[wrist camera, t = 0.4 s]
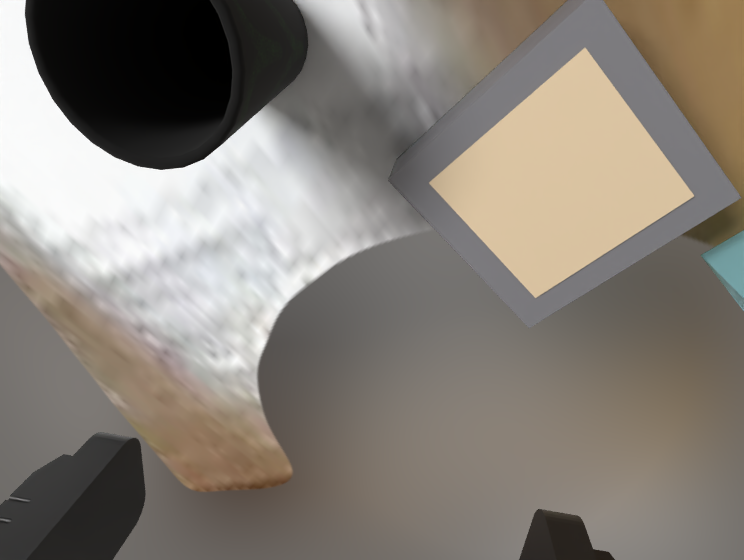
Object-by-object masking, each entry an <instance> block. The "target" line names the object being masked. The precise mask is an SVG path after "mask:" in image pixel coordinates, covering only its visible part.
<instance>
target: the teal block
mask: <svg viewBox="0 0 744 560" xmlns="http://www.w3.org/2000/svg"><path fill="white" fill-rule="evenodd" d="M701 256H702V258H703V259H704V260H705V262H706V263H707V264H708V265H709V267H710V268H711V269H712V271H713V272H714V273H715V275H716V276H717V277H718V278H719V280H720V281H721V282H722V284H723V285H724V286H725V288H726V289H727V290H728V292H729V293H730V294H731V296H732V297H733V298H734V299H735V301H736V302H737V303H738V304H739V306H740V307H741V309H742V310H743V311H744V230H743V231H741V232H740V233H738V234H736V235H735V236H733V237H731V238H729V239H728V240H726V241H724V242H723V243H721V244H719V245H717V246H716V247H714V248H712V249H710V250H709V251H707V252H705V253H703V254H702V255H701Z"/></svg>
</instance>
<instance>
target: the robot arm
mask: <svg viewBox="0 0 744 560" xmlns="http://www.w3.org/2000/svg"><path fill="white" fill-rule="evenodd" d="M144 502H145V484H144V474H143V464H142V454H141V446H140V442H139V440H138V439H136V438H132V437H126V436H120V435H115V434H109V433H103V432H99V433H96V434H95V435H93V436H92V437H91V438H90V439H89V440H88V441H87V442H86V443H85V444H84V445H83V446H82V447H81V448H80V449H79V450H78V451H77V452H76V453H75V454H74V455H73V456H70V455H62V456H60V457H58V458H57V459H55V460H53V461H52V462H50V463H48V464H47V465H45V466H43V467H42V468H40V469H38V470H37V471H35V472H33V473H32V474H31V476H29V477H28V478H27V480H25V481H24V482H23V484H21V485H20V486H19V487H18V488H17V489H16V490H15V491H14V492H13V493H12V494H11V495H10V498H9V500H5V501H4V502H3V503H2V504H1V505H0V560H113V558H114V557H115V555H116V554H117V552H118V551H119V549H120V548H121V546H122V545H123V543H124V542H125V540H126V539H127V537H128V536H129V534H130V533H131V531H132V529H133V528H134V527H135V525H136V523H137V522H138V520H139V517H140V515H141V512H142V509H143V506H144ZM519 560H615V559H614V558H613V557H612V556H611V554H610V553H609V552H606V551H600V550H594V549H593V548H592V545H591V542H590V540H589V536H588V534H587V531H586V528H585V525H584V523H583V521H582V519H581V518H580V517H579V516H576V515H571V514H565V513H559V512H552V511H547V510H542V509H538V510H537V511H536V512H535V514H534V517H533V520H532V523H531V526H530V529H529V532H528V535H527V538H526V541H525V544H524V547H523V550H522V553H521V556H520V559H519Z"/></svg>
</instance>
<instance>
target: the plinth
mask: <svg viewBox="0 0 744 560" xmlns="http://www.w3.org/2000/svg"><path fill="white" fill-rule="evenodd" d="M388 181H389V182H390V183H391V184H392V185H393V186H394V187H395V188H396V189H397V190H398V191H399V192H400V193H401V194H402V195H403V197H404V198H405V199H406V200H407V201H408V202H409V203H410V204H411V205H412V206H413V207H414V208H415V209H416V210H417V211H418V212H419V213H420V214H421V215H422V216H423V217H424V219H425V220H426V221H427V222H428V223H429V224H430V225H431V226H432V227H433V228H434V229H435V230H436V231H437V232H438V233H439V234H440V235H441V236H442V237H443V238H444V239H445V240H446V242H447V243H448V244H449V245H450V246H451V247H452V248H453V249H454V250H455V251H456V252H457V253H458V254H459V255H460V256H461V257H462V258H463V259H464V260H465V261H466V263H467V264H469V266H470V267H471V268H472V269H473V270H474V271H475V272H476V273H477V274H478V275H479V276H480V277H481V278H482V279H483V280H484V281H485V282H486V283H487V284H488V286H489V287H490V288H491V289H492V290H493V291H494V292H495V293H496V294H497V295H498V296H499V297H500V298H501V299H502V300H503V301H504V302H505V303H506V304H507V305H508V306H509V308H510V309H511V310H512V311H513V312H514V313H515V314H516V315H517V316H518V317H519V318H520V319H521V320H522V321H523V322H524V323H525V324H526V325H527V326H528V328H530V327H532V326H533V325H535V324H537V323H538V322H540V321H542V320H543V319H545V318H546V317H548V316H550V315H551V314H553V313H554V312H556V311H558V310H559V309H561V308H563V307H564V306H566V305H567V304H569V303H571V302H573V301H574V300H576V299H577V298H579V297H581V296H582V295H584V294H585V293H587V292H589V291H590V290H592V289H594V288H595V287H597V286H598V285H600V284H602V283H603V282H605V281H607V280H608V279H610V278H612V277H613V276H615V275H616V274H618V273H620V272H621V271H623V270H625V269H626V268H628V267H629V266H631V265H633V264H634V263H636V262H638V261H639V260H641V259H643V258H644V257H646V256H647V255H649V254H651V253H652V252H654V251H655V250H657V249H659V248H660V247H662V246H664V245H665V244H667V243H669V242H670V241H672V240H673V239H675V238H677V237H678V236H680V235H682V234H683V233H685V232H687V231H688V230H690V229H691V228H693V227H695V226H696V225H698V224H700V223H701V222H703V221H704V220H706V219H708V218H709V217H711V216H713V215H714V214H716V213H717V212H719V211H721V210H722V209H724V208H726V207H727V206H729V205H731V204H732V203H734V202H735V201H737V200H739V199H740V198H741V196H740V195H739V193H738V192H737V191H736V189H735V188H734V186H733V185H732V183H731V182H730V181H729V179H728V178H727V176H726V175H725V174H724V172H723V171H722V169H721V168H720V166H719V165H718V164H717V162H716V161H715V159H714V158H713V156H712V155H711V154H710V152H709V151H708V149H707V148H706V146H705V145H704V144H703V142H702V141H701V139H700V138H699V136H698V135H697V134H696V132H695V131H694V129H693V128H692V126H691V125H690V124H689V122H688V121H687V119H686V118H685V116H684V115H683V114H682V112H681V111H680V109H679V108H678V106H677V105H676V104H675V102H674V101H673V99H672V98H671V96H670V95H669V94H668V92H667V91H666V89H665V88H664V87H663V85H662V84H661V82H660V81H659V79H658V78H657V77H656V75H655V74H654V72H653V71H652V69H651V68H650V67H649V65H648V64H647V62H646V61H645V59H644V58H643V57H642V55H641V54H640V52H639V51H638V49H637V48H636V47H635V45H634V44H633V42H632V41H631V39H630V38H629V37H628V35H627V34H626V32H625V31H624V29H623V28H622V27H621V25H620V24H619V22H618V21H617V19H616V18H615V17H614V15H613V14H612V12H611V11H610V9H609V8H608V7H607V5H606V4H605V2H604V1H603V0H568V1H567V2H565V3H564V4H563V5H562V6H561V7H560V8H559V9H558V10H557V11H556V12H555V13H554V14H553V15H551V16H550V17H549V18H548V19H547V20H546V21H545V22H544V23H543V24H542V25H541V26H540V27H539V28H538V29H536V30H535V31H534V32H533V33H532V34H531V35H530V36H529V37H528V38H527V39H526V40H525V41H524V42H522V43H521V44H520V45H519V46H518V47H517V48H516V49H515V50H514V51H513V52H512V53H511V54H510V55H508V56H507V57H506V58H505V59H504V60H503V61H502V62H501V63H500V64H499V65H498V66H497V67H496V68H494V69H493V70H492V71H491V72H490V73H489V74H488V75H487V76H486V77H485V78H484V79H483V80H482V81H481V82H479V83H478V84H477V85H476V86H475V87H474V88H473V89H472V90H471V91H470V92H469V93H468V94H467V95H465V96H464V97H463V98H462V99H461V100H460V101H459V102H458V103H457V104H456V105H455V106H454V107H453V108H451V109H450V110H449V111H448V112H447V113H446V114H445V115H444V116H443V117H442V118H441V119H440V120H439V121H438V122H436V123H435V124H434V125H433V126H432V127H431V128H430V129H429V130H428V131H427V132H426V133H425V134H424V135H422V136H421V137H420V138H419V139H418V140H417V141H416V142H415V143H414V144H413V145H412V146H411V147H410V148H408V149H407V150H406V151H405V152H404V153H403V154H402V155H401V156H400V157H399V158H398V159H397V160H396V162H395V164H394V167H393V170H392V172H391V175H390V177H389V180H388Z"/></svg>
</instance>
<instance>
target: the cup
mask: <svg viewBox="0 0 744 560" xmlns="http://www.w3.org/2000/svg"><path fill="white" fill-rule="evenodd" d="M25 18H26V25H27V33H28V40H29V45H30V48H31V51H32V54H33V57H34V60H35V63H36V66H37V69H38V72H39V74H40V76H41V78H42V80H43V82H44V84H45V86H46V88H47V89H48V91H49V93H50V95H51V97H52V99H53V100H54V102H55V103H56V104H57V106H58V107H59V108H60V109H61V111H62V112H63V113H64V115H65V116H66V117H67V119H68V120H69V121H70V122H71V124H72V125H74V126H75V127H76V128H77V129H78V130H79V131H80V132H81V133H82V134H83V135H84V136H85V137H86V138H88V139H89V140H90V141H91V142H92V143H93V144H95V145H96V146H98V147H100V148H101V149H103V150H104V151H106V152H107V153H109V154H111V155H112V156H114V157H116V158H118V159H121V160H123V161H126V162H128V163H131V164H133V165H136V166H140V167H146V168H153V169H159V170H164V169H174V168H183V167H186V166H188V165H191V164H193V163H196V162H198V161H200V160H203V159H205V158H206V157H207V156H208V155H209V154H211V153H212V152H213V151H214V150H215V149H217V148H218V147H219V146H220V145H221V144H223V143H224V142H225V141H226V140H227V139H228V138H229V137H230V136H232V135H233V134H234V133H235V132H236V131H237V130H238V129H240V128H241V127H242V126H243V125H244V124H245V123H246V122H247V121H249V120H250V119H251V118H252V117H253V116H254V115H255V114H256V113H258V112H259V111H260V110H261V109H262V108H263V107H264V106H265V105H267V104H268V103H269V102H270V101H271V100H272V99H273V98H274V97H276V96H277V95H278V94H279V93H280V92H281V91H282V90H283V89H285V88H286V87H287V86H288V85H289V84H290V83H291V82H292V81H294V80H295V78H296V77H297V76H298V74H299V73H300V71H301V70H302V67H303V65H304V62H305V60H306V55H307V48H308V39H307V30H306V26H305V23H304V19H303V17H302V15H301V13H300V11H299V9H298V7H297V5H296V4H295V3H294V2H293V0H26V6H25Z"/></svg>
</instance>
